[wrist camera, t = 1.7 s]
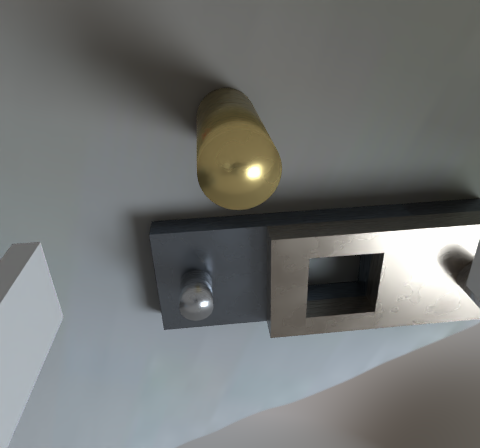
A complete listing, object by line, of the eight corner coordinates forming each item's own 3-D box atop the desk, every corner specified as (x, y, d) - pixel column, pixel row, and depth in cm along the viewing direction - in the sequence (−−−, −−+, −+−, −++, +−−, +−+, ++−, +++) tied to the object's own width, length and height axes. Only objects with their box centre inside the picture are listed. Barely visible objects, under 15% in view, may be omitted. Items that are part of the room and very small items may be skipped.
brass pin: (199, 148, 29) (200, 212, 20) (194, 89, 27) (193, 132, 18) (255, 145, 29) (281, 207, 21) (254, 86, 27) (282, 127, 19)
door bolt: (165, 313, 36) (159, 378, 30) (151, 221, 31) (140, 275, 25) (455, 288, 37) (506, 345, 31) (480, 198, 33) (544, 243, 27)
